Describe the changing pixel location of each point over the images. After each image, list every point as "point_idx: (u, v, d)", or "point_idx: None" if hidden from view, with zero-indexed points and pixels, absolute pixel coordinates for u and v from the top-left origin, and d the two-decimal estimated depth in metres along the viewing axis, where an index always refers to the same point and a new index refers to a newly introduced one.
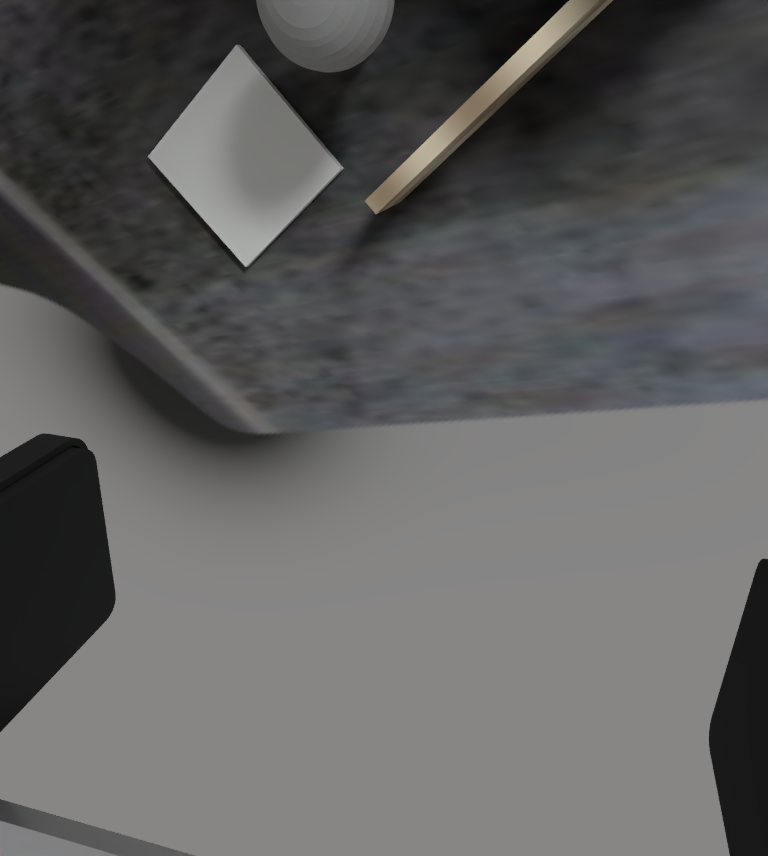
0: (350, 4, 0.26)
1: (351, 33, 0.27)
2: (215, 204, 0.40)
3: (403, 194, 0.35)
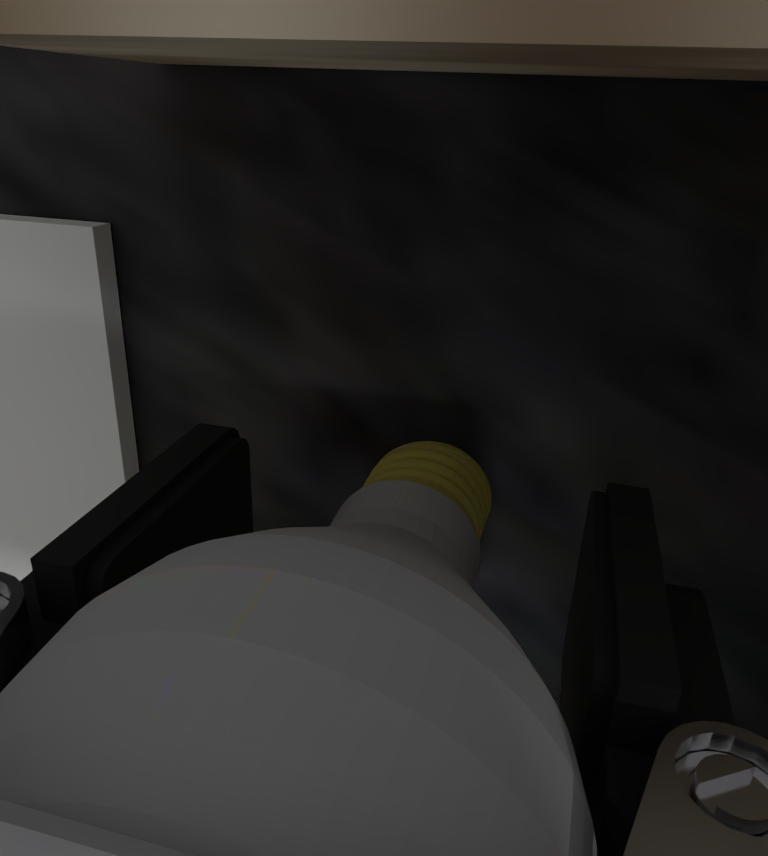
0: None
1: None
2: None
3: None
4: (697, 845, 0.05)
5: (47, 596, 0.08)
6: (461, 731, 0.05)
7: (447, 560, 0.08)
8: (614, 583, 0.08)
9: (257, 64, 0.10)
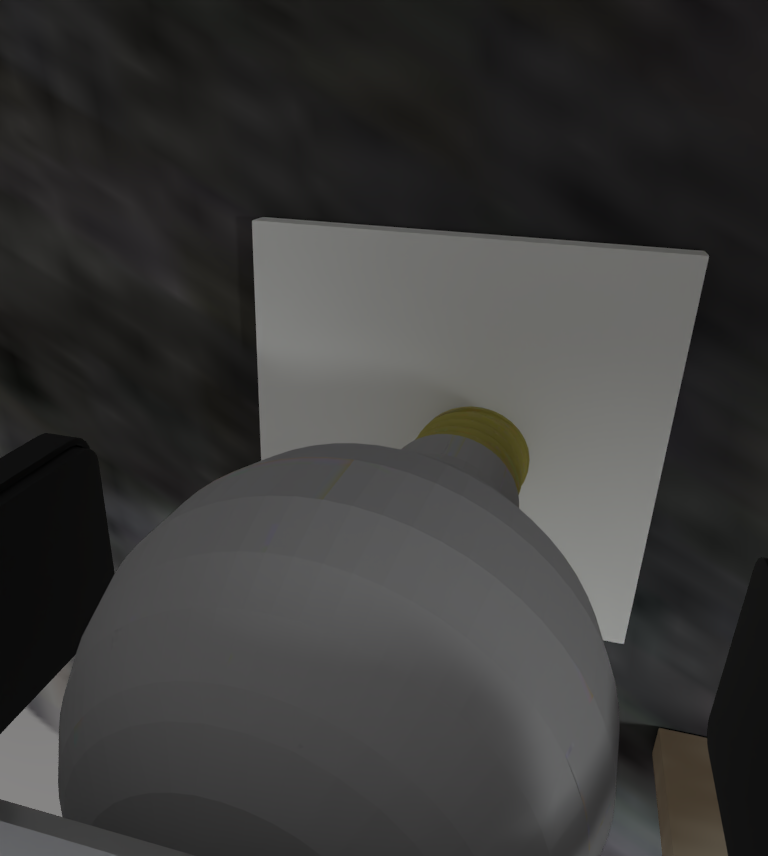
0: None
1: None
2: (314, 444, 0.15)
3: None
4: None
5: None
6: (507, 578, 0.06)
7: None
8: None
9: None
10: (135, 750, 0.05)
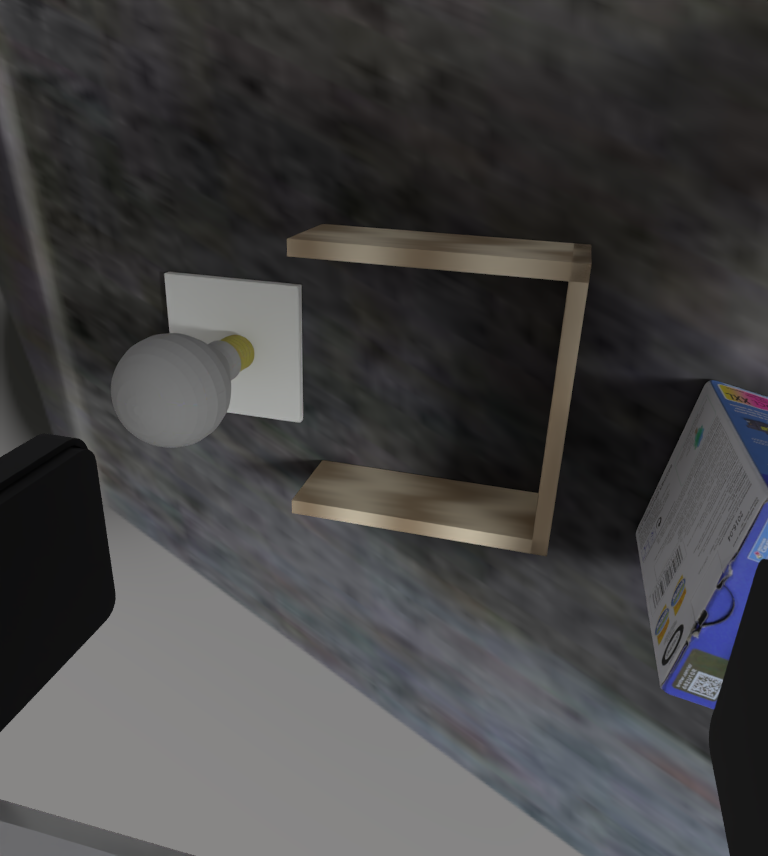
0: (165, 439, 0.33)
1: (159, 445, 0.34)
2: None
3: None
4: None
5: None
6: (193, 352, 0.33)
7: (218, 351, 0.36)
8: None
9: None
10: (126, 376, 0.32)
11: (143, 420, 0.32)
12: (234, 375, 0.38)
